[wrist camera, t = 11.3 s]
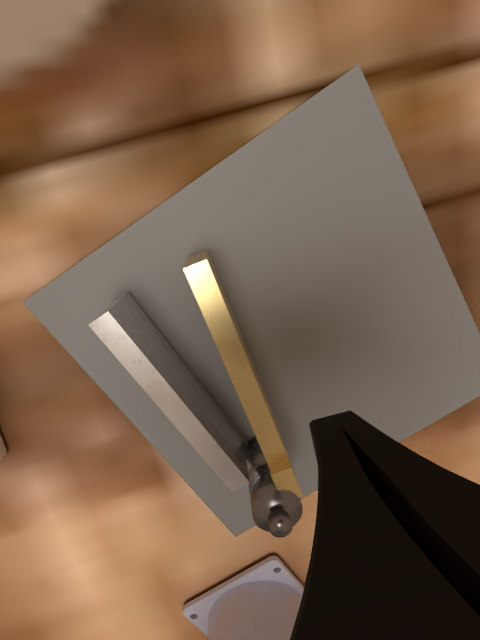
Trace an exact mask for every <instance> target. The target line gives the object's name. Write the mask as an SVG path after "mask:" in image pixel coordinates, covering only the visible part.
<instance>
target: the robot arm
mask: <svg viewBox="0 0 480 640" xmlns="http://www.w3.org/2000/svg"><path fill="white" fill-rule="evenodd" d="M309 427H310V431H311V436H312V441H313V445H314V450H315V455H316V459H317V464H318V504H317V516H316V526H315V533H314V540H313V547H312V553H311V559H310V564H309V568H308V573H307V577H306V582H305V586H303V585H302V584H301V583H300V582H299V580H298V579H297V578H296V577H295V576H294V575H293V574H292V572H291V571H290V570H289V569H288V568H287V567H286V566H285V564H284V563H283V562H282V561H281V560H280V559H279V558H278V557H277V556H270V557H268V558H266V559H264V560H262V561H261V562H259V563H257V564H255V565H254V566H252V567H250V568H248V569H247V570H245V571H243V572H241V573H239V574H238V575H236V576H234V577H232V578H231V579H229V580H227V581H225V582H223V583H222V584H220V585H218V586H216V587H215V588H213V589H211V590H209V591H208V592H206V593H204V594H202V595H200V596H199V597H197V598H195V599H193V600H192V601H190V602H188V603H186V604H185V605H184V606H183V615H184V616H185V617H186V618H187V619H189V620H190V621H191V622H192V623H193V624H194V625H195V626H196V627H197V628H198V629H199V630H201V631H202V632H203V633H204V634H205V635H206V636H207V637H208V640H480V485H479V484H476V483H474V482H472V481H470V480H468V479H466V478H463V477H461V476H459V475H457V474H455V473H453V472H450V471H448V470H446V469H445V468H443V467H441V466H439V465H437V464H435V463H433V462H431V461H429V460H428V459H426V458H424V457H422V456H420V455H419V454H417V453H415V452H413V451H412V450H410V449H408V448H407V447H405V446H404V445H402V444H400V443H399V442H397V441H395V440H394V439H392V438H391V437H389V436H388V435H386V434H385V433H383V432H382V431H380V430H379V429H377V428H376V427H374V426H373V425H371V424H370V423H368V422H367V421H365V420H364V419H362V418H361V417H360V416H358V415H357V414H355V413H354V412H352V411H351V410H349V411H346V412H342V413H338V414H334V415H330V416H326V417H323V418H319V419H315V420H312V421H311V422H310V424H309Z"/></svg>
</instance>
